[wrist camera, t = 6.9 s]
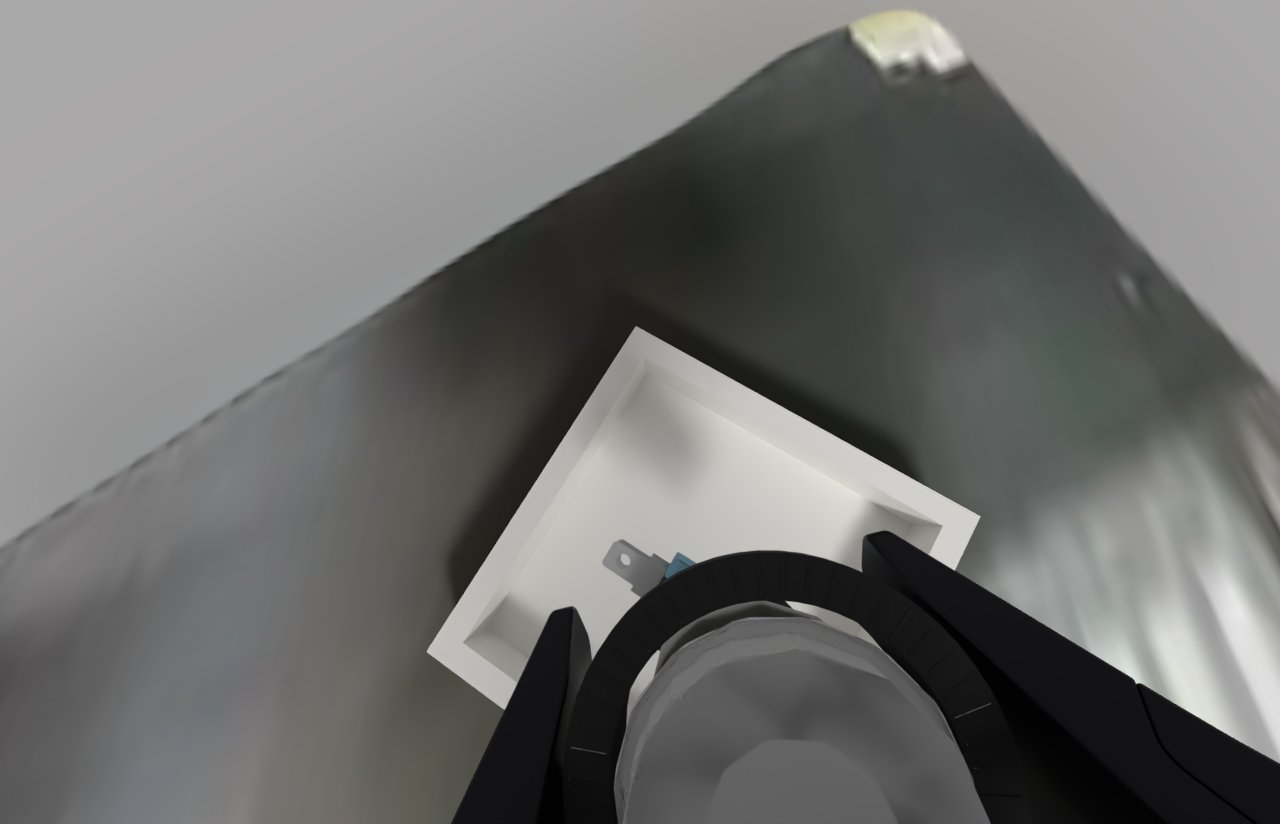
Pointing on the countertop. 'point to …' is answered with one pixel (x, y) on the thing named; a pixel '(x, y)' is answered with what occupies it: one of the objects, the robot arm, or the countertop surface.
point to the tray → (677, 508)
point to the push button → (783, 705)
